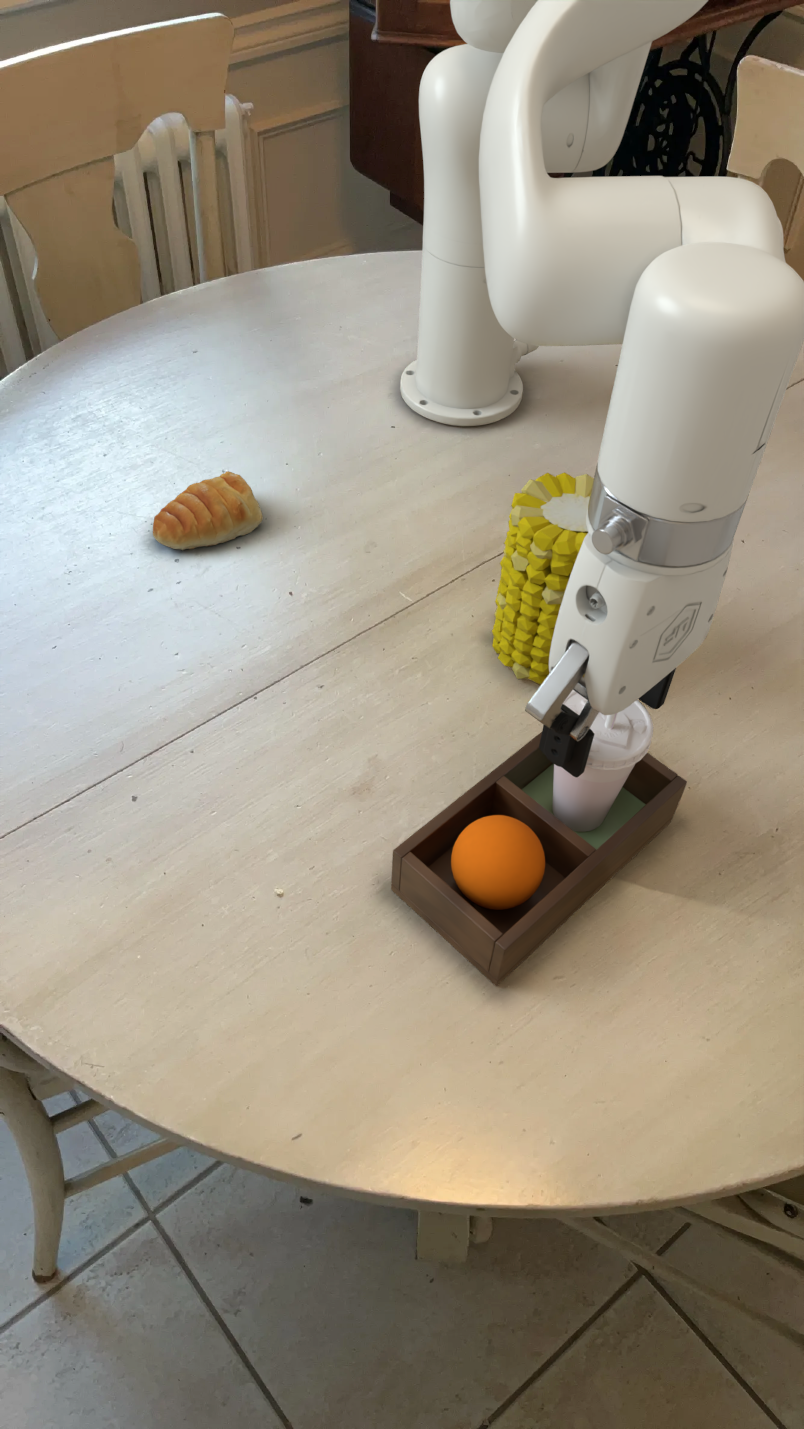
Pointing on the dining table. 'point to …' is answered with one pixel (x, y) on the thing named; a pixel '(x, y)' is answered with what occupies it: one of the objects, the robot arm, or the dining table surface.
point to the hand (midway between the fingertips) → (602, 726)
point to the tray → (569, 855)
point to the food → (538, 569)
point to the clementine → (498, 862)
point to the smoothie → (601, 765)
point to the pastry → (208, 513)
